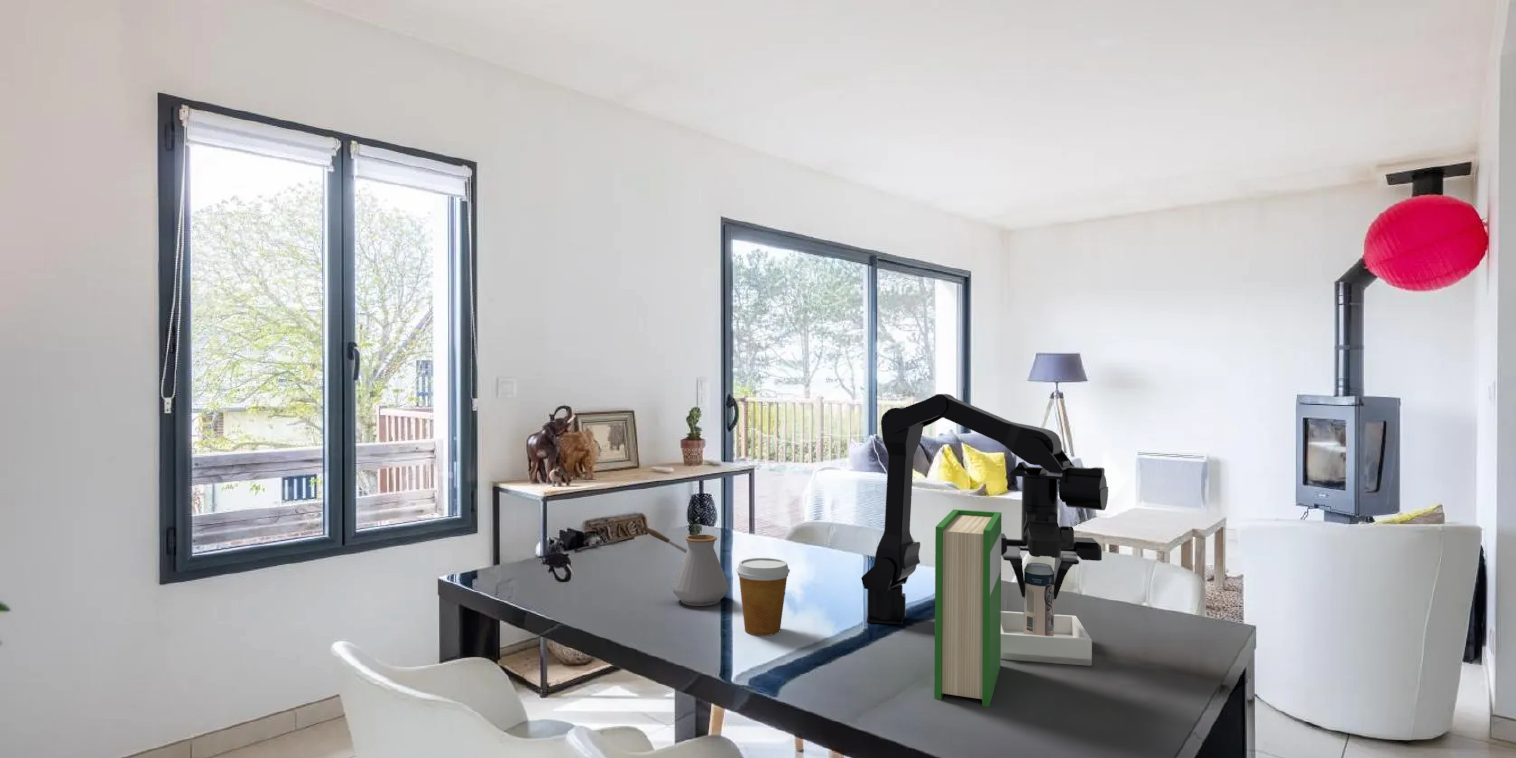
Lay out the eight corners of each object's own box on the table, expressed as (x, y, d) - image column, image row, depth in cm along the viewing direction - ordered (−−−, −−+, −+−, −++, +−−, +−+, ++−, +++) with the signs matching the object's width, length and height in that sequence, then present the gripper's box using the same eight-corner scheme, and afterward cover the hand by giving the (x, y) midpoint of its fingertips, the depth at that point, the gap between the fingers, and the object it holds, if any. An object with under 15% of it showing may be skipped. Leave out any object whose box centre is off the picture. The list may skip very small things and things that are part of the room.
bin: (998, 658, 129) (999, 633, 129) (992, 633, 143) (992, 610, 143) (1091, 665, 127) (1091, 640, 127) (1075, 638, 140) (1075, 615, 140)
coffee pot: (737, 597, 166) (737, 524, 166) (715, 611, 155) (716, 533, 156) (645, 587, 174) (645, 517, 174) (618, 600, 163) (618, 525, 163)
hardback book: (989, 706, 110) (990, 530, 110) (934, 698, 113) (935, 526, 113) (1000, 665, 126) (1001, 512, 127) (952, 659, 129) (953, 509, 129)
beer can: (1055, 642, 132) (1056, 569, 132) (1025, 640, 133) (1026, 567, 133) (1051, 633, 137) (1051, 562, 137) (1021, 631, 138) (1022, 561, 138)
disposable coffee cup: (800, 630, 144) (800, 562, 144) (764, 642, 137) (764, 571, 137) (761, 619, 150) (761, 554, 150) (724, 630, 143) (725, 562, 143)
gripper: (985, 509, 129) (984, 606, 129) (1109, 514, 125) (1108, 615, 125) (980, 499, 140) (979, 589, 140) (1095, 504, 136) (1094, 596, 136)
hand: (1038, 597), depth 135 cm, fingers closed on beer can, 5 cm apart
